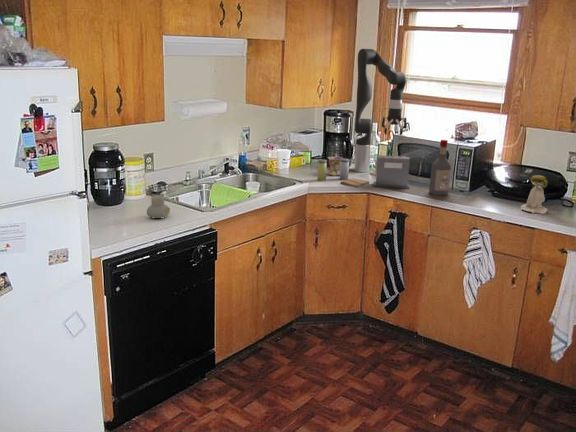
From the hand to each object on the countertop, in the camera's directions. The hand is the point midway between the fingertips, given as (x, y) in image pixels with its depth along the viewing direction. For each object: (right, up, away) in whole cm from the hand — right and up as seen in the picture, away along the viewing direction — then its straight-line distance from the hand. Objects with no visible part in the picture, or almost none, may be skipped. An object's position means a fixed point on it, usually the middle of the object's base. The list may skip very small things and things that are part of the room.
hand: (393, 134), depth 353 cm
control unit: (-2, -30, -4) cm, 31 cm away
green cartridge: (-42, -27, +4) cm, 50 cm away
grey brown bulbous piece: (-123, -49, -71) cm, 150 cm away
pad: (-23, -29, -2) cm, 37 cm away
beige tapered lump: (+64, -45, -45) cm, 91 cm away
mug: (-34, -23, +18) cm, 45 cm away
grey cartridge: (-28, -26, +8) cm, 39 cm away
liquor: (+22, -35, -18) cm, 46 cm away
